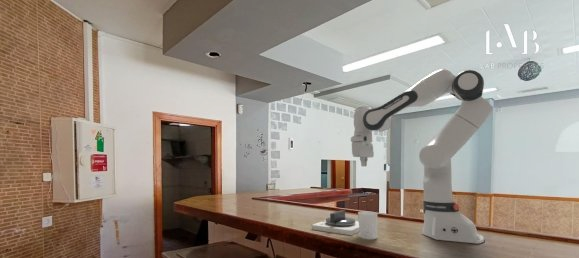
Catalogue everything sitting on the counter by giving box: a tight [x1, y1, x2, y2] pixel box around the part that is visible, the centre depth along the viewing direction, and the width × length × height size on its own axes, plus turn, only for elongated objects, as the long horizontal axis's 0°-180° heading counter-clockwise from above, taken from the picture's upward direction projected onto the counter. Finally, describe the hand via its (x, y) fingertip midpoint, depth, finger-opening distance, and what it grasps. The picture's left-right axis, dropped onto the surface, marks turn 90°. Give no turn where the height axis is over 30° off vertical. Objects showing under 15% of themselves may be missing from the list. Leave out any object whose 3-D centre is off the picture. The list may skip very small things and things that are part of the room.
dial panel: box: [311, 219, 360, 236], centre depth 134 cm, size 20×20×2 cm
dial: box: [325, 209, 356, 226], centre depth 134 cm, size 16×14×6 cm
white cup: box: [357, 210, 378, 240], centre depth 118 cm, size 8×8×10 cm
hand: (364, 166), depth 141 cm, fingers closed
